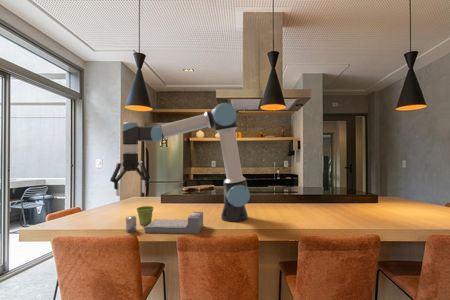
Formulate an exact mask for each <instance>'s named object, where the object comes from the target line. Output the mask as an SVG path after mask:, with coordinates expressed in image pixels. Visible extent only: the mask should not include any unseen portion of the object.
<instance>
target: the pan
mask: <svg viewBox="0 0 450 300" xmlns="http://www.w3.org/2000/svg"><path fill="white" fill-rule="evenodd" d="M187 226H188V219H168V218H167V219H166V218H165V219H164V218H163V219H162V218H161V219H160V218H159V219H158V218H157V219H154V220H153V221H151V223H150V224H147V225H146V227H164V228H187Z"/></svg>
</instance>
